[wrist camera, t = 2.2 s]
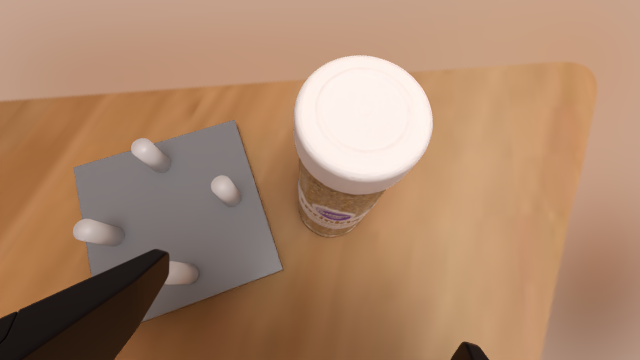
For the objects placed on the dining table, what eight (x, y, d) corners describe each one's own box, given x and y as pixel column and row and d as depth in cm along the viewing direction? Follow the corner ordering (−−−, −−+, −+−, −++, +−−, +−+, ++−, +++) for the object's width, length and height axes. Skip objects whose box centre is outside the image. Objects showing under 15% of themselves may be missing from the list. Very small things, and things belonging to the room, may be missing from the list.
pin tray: (111, 334, 20) (66, 345, 16) (83, 172, 23) (39, 150, 19) (283, 269, 22) (279, 267, 18) (236, 126, 25) (224, 97, 21)
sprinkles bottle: (299, 239, 22) (293, 181, 10) (297, 175, 24) (291, 49, 11) (366, 237, 23) (447, 177, 10) (361, 173, 24) (427, 48, 11)
